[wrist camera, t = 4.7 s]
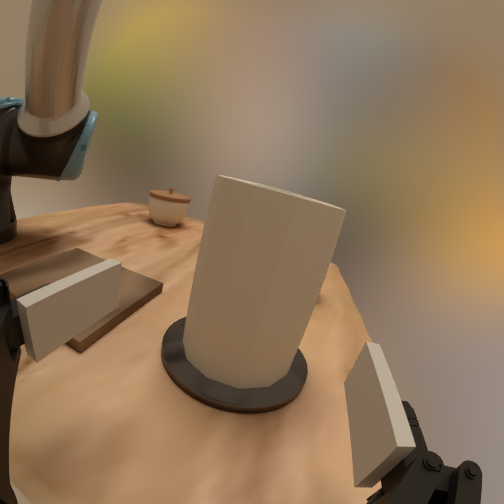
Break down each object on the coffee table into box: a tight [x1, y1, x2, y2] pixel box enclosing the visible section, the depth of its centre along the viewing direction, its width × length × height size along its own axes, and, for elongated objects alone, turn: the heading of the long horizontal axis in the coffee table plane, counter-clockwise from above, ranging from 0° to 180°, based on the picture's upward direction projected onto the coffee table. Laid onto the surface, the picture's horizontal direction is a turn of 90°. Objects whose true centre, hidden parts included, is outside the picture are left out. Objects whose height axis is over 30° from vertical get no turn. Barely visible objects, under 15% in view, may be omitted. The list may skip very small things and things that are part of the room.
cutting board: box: [0, 248, 163, 353], centre depth 27 cm, size 16×16×1 cm
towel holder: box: [162, 317, 308, 413], centre depth 23 cm, size 14×14×13 cm
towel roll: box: [183, 175, 346, 389], centre depth 23 cm, size 10×10×15 cm
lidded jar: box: [148, 188, 190, 227], centre depth 68 cm, size 11×11×9 cm
